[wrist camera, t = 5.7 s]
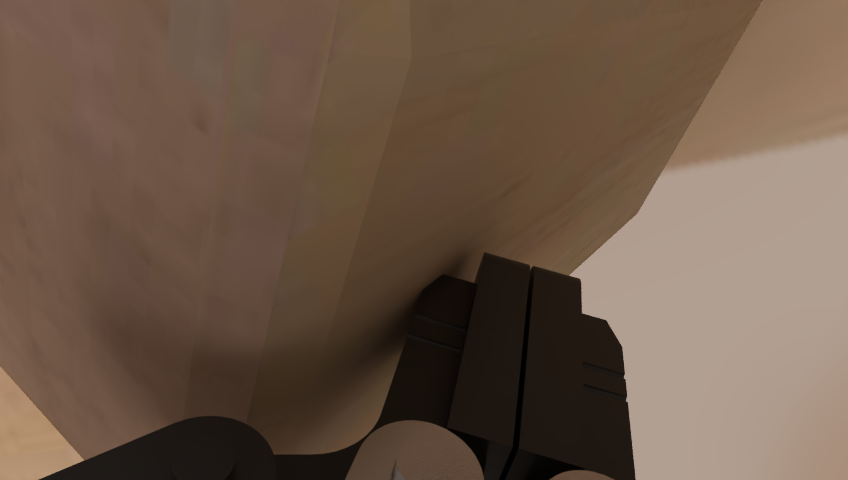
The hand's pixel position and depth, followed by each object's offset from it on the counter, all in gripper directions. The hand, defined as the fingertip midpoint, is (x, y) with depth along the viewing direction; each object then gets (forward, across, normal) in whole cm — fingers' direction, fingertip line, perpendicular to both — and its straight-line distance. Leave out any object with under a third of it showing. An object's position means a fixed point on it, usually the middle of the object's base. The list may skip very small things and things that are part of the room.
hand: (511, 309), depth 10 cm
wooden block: (+17, -1, 0) cm, 17 cm away
